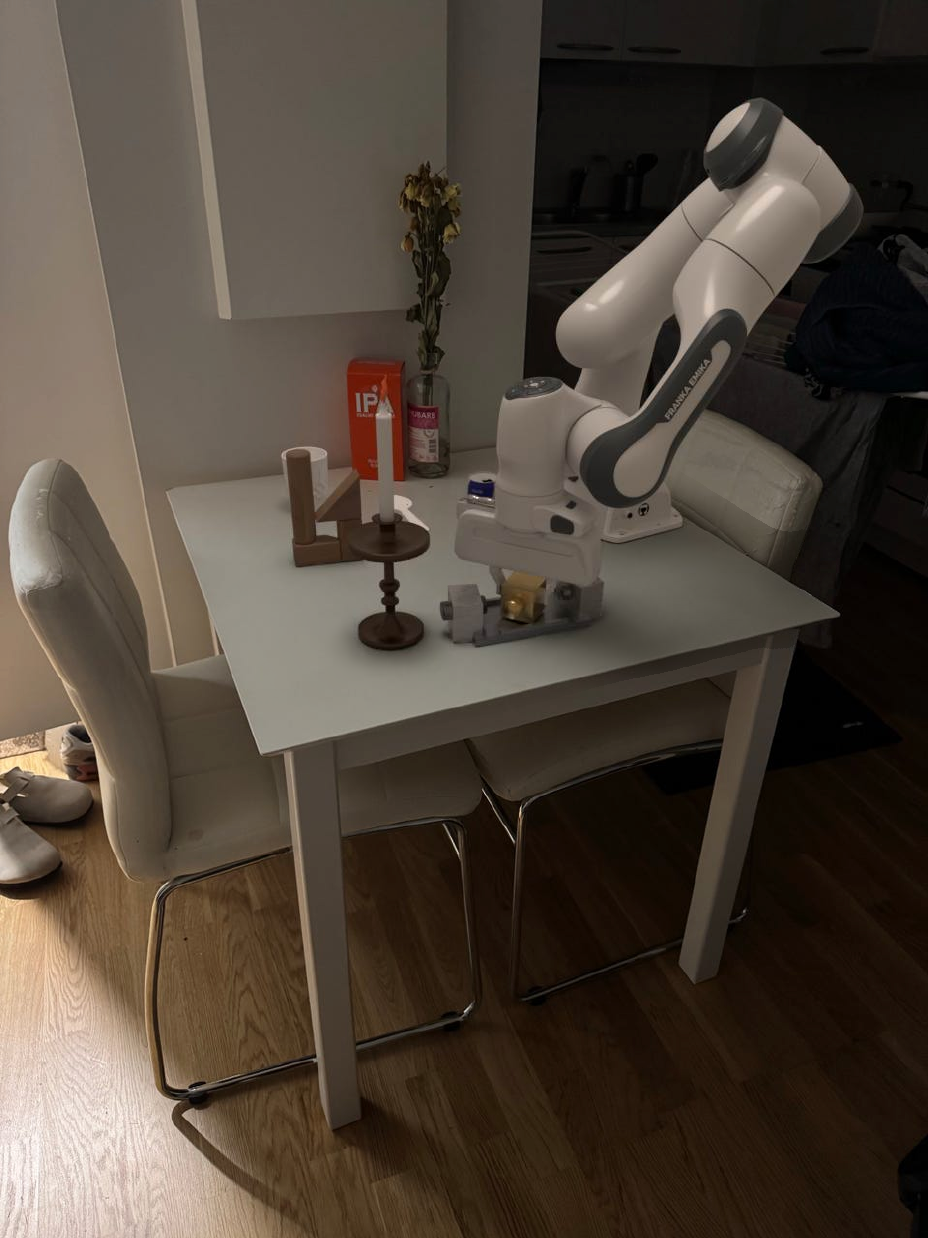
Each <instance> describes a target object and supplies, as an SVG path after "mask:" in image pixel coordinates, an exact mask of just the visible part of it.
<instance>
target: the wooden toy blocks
mask: <svg viewBox="0 0 928 1238" xmlns="http://www.w3.org/2000/svg"><path fill="white" fill-rule="evenodd" d="M286 462H287V473H288V484H289V494H290V505H291V509H290V513H291V525H292V535H293V537H292V538H291V545H292V554H293V561H294V564H295V566H296V567H304V566H313V565H314V566H315V565H324V564H332V563H340V562H343V563H344V562H345V563H346V562H351V561H353V562H354V561H361V560H362V559H359V558H357V557H355V556H353V555H352V554H350V553H349V552H348V551H347V548H346V540H345V539H346V535H347V533H348V532H349V531H350V530H351V529H353V528H354V527H356V526H359V525H361V524H363V519H362V518H363V517H362V515H363V513H362V496H361V479H360V478H361V476H360V474H359V472H358V470H357V468H354V469H353V470H352V471H351V472H350V473H349V474H348V475H347V476H346V477H345V478H344V479H343V480H342V482H341V483H340V484H339V485H338V486H337V487H336V488H335V489H334V490H333V492H332V493H331V494H330V495H329V496H327V499H326V501H325V502H324V503H323V504H322V505H321V506H320V507H319V508H318V509H317V510H316V512H315V508H314V495H313V482H312V470H311V457H310V452H309V451H308V450H305V449H293V450H290V451H288V452H287V453H286ZM329 522H336V533H337V536H334V535H328V534H319V535H318V534H317V524H316V523H329Z"/></svg>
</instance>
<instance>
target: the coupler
mask: <svg viewBox="0 0 928 1238" xmlns="http://www.w3.org/2000/svg"><path fill="white" fill-rule="evenodd" d="M546 581H547V578H544V577H539V576H534V575H530V574H525V573H521V572H516V571H513V572H512V573H511V574H510V575H509V576H508V577H507V578H506V581H505V582H504V583H503V584H502V585H501V595H500V597H501V601H500V616H502V617H506V618H509V619H514V620H519V621H523V622H527V623H533V622H534V621H535V620H536V619H537V617H538V616H539V615H540V614H541V613H542V611H543V610H544V609H545V605H542V604H538V600H539V599H538V593H539V592H540V591H541V590H542V589H543V588H545V589H547V584H546Z"/></svg>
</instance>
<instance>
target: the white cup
mask: <svg viewBox="0 0 928 1238" xmlns="http://www.w3.org/2000/svg"><path fill="white" fill-rule="evenodd" d="M293 449H305V450H308V451H309V452H310V457H311V470H312V482H313V495H314V508H315V512H316V510H317V509H318V508H319V507H320V506H321V505H322V504H323V503H324V502H325V501H326V499H327V498H328V491H329V489H328V488H329V487H328V486H329V485H328V483H329V482H328V478H329V473H328V471H329V470H328V469H329V468H328V452H327V450H325V449H323V448H321V447H316V446H298V447H292V448H289V449H287V450H284V451H283V452H282V453H281V463H282V469H283V476H284V483H285V489H286V494H287V498H288V507H289V510H291V505H290V494H289V484H288V473H287V462H286V453H287V452H288V451H290V450H293Z"/></svg>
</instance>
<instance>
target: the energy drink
mask: <svg viewBox="0 0 928 1238" xmlns="http://www.w3.org/2000/svg"><path fill="white" fill-rule="evenodd" d="M497 474H498V473H495V472H492V471H485V470H483V471H475V472H472V473H469V475H468V478H467V481H466V496H467V495H469V494H471V495H476V496H479V497H488V498H494V499H495V482H496V477H497Z"/></svg>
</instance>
